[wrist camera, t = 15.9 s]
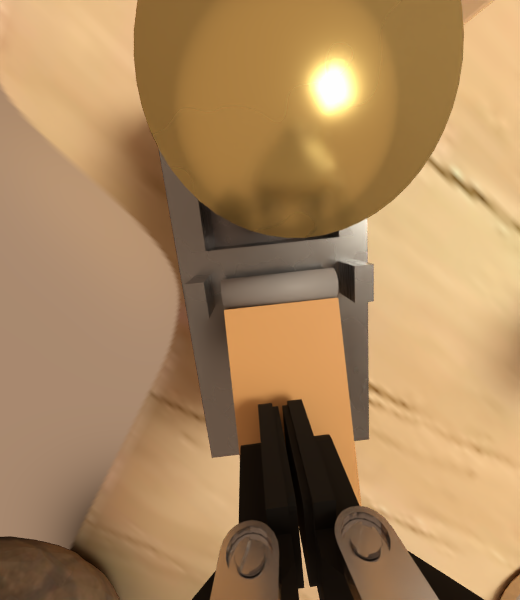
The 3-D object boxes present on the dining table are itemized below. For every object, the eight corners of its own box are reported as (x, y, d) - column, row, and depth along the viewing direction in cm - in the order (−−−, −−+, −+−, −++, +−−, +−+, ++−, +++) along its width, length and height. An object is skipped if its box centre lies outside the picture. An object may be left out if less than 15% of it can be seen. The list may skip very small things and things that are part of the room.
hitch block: (333, 378, 20) (386, 468, 12) (222, 391, 20) (206, 490, 12) (321, 91, 15) (392, -44, 8) (179, 105, 15) (112, -19, 8)
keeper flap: (223, 280, 11) (219, 278, 10) (327, 269, 12) (336, 265, 10) (247, 500, 11) (246, 524, 10) (352, 488, 11) (363, 510, 10)
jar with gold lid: (303, 139, 14) (485, -170, 3) (305, 227, 15) (445, 227, 4) (218, 145, 14) (99, -148, 3) (227, 233, 15) (163, 248, 4)
